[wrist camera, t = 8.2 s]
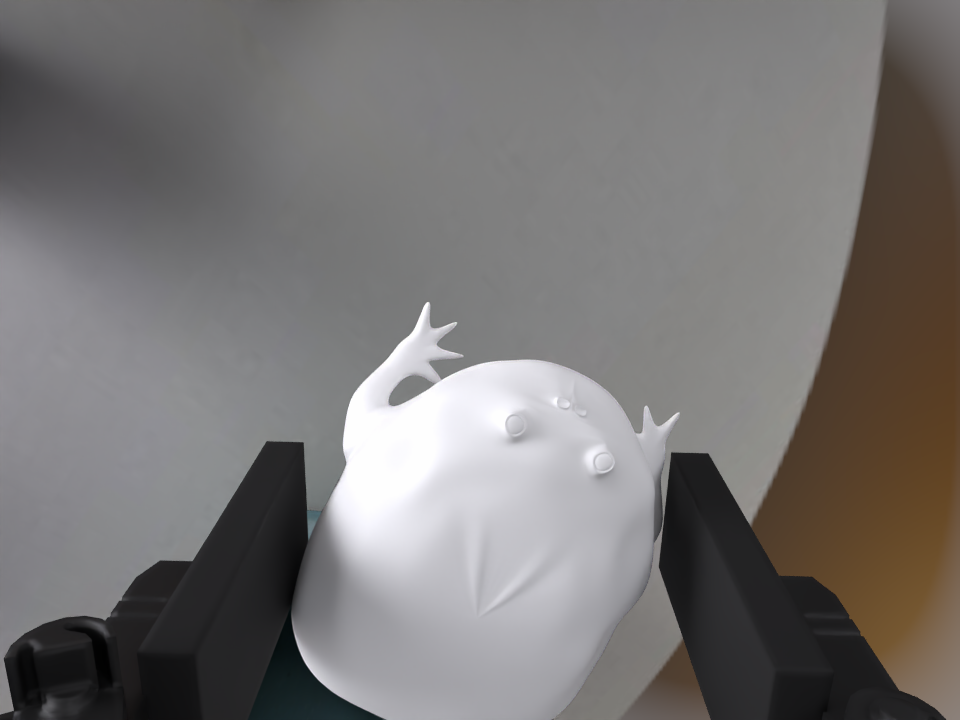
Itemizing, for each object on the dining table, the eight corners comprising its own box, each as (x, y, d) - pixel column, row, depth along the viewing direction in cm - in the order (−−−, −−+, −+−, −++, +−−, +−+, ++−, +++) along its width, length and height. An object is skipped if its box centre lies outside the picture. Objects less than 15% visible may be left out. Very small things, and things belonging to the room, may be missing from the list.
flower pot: (250, 626, 41) (188, 769, 33) (250, 468, 38) (181, 580, 30) (425, 641, 41) (408, 787, 33) (438, 485, 38) (423, 600, 30)
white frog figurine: (407, 269, 16) (384, 326, 12) (714, 406, 17) (777, 496, 13) (266, 593, 18) (212, 719, 15) (542, 697, 19) (554, 841, 15)
